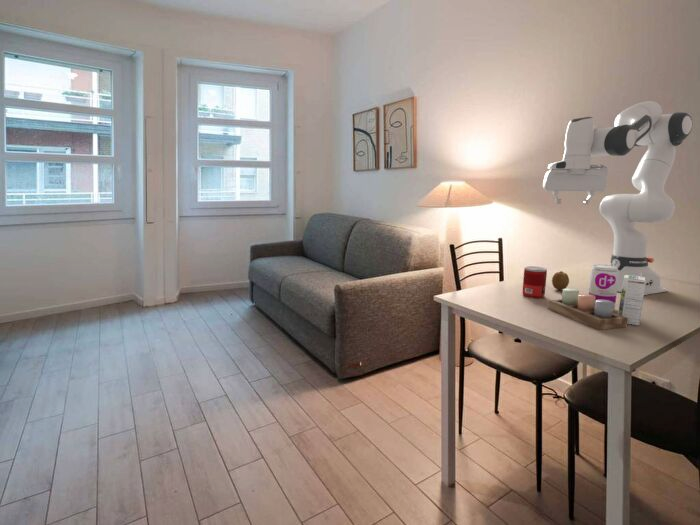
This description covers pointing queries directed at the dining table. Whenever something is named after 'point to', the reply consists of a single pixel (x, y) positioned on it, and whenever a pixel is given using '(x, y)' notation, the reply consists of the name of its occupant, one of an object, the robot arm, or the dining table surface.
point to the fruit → (560, 280)
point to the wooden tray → (587, 316)
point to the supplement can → (604, 282)
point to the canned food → (534, 281)
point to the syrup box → (632, 298)
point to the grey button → (603, 308)
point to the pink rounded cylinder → (586, 302)
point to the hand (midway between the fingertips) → (571, 204)
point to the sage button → (570, 296)
